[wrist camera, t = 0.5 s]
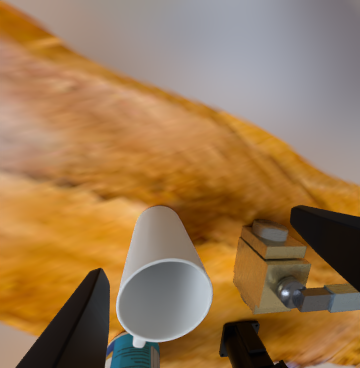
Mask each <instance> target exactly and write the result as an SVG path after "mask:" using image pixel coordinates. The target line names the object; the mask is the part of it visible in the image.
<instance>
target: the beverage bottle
mask: <svg viewBox="0 0 360 368" xmlns="http://www.w3.org/2000/svg"><path fill="white" fill-rule="evenodd" d="M159 357H160V352H159V344H158V342H148V341H146V343H145V345H144V346H143V347H142V348H136V347H134V346H133V336H132V335H131V334H130V333H128V332H127V331H126V332H123V333H121V334H120V335H118V336H116V337H115V338H114V339H113V340H112V341H111V342H110V344H109V345H108V347H107V354H106V363H105V368H160V359H159Z"/></svg>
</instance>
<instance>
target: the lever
mask: <svg viewBox="0 0 360 368" xmlns="http://www.w3.org/2000/svg"><path fill="white" fill-rule="evenodd" d="M275 294H276V296H277V298H278V299H279V300H280V301H281V302H282V303H283V304H284V306H285V307H287V308H290V309H293V308H297V309H298V310H299V311H300V312H309V311H319V310H328V311H329V312H330V313H332V312H343V311H353V310H360V293H359V292H358V291H357V290H356V289H355V288H354V287H353V286H352V285H351V284H335V285H324V287H322V288H306V287H305V286H304V285H303V284H302V283H300V282H299V281H298V280H297V279H296V278H294V277H286V278H284V279H282V280H281V281H280V282H279V283H278V284H277V286H276V289H275Z"/></svg>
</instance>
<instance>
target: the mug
mask: <svg viewBox="0 0 360 368" xmlns="http://www.w3.org/2000/svg"><path fill="white" fill-rule="evenodd" d="M212 298H213V289H212V284H211V281H210V279H209V277H208V275H207V273H206V271H205V268H204V266H203V264H202V262H201V260H200V258H199V256H198V254H197V252H196V250H195V248H194V246H193V244H192V242H191V240H190V238H189V236H188V234H187V232H186V230H185V228H184V225H183V224H182V222H181V220H180V218H179V216H178V215H177V213H176V212H175V211H173V210H172V209H170V208H168V207H165V206H154V207H151V208H148V209H146V210H145V211H144V212H143V213H142V214H141V215H140V216H139V217H138V219H137V222H136V225H135V228H134V232H133V236H132V240H131V244H130V248H129V252H128V255H127V259H126V263H125V267H124V271H123V275H122V279H121V284H120V289H119V293H118V297H117V302H116V311H117V316H118V319H119V321H120V323H121V325H122V326H123V328H124V329H125V330H126V331H127V332H128V333H130V334H131V335H132V336H133V346H134V347H136V348H142V347H143V346H144V345H145V343H146V341H148V342H164V341H169V340H173V339H176V338H179V337H181V336H183V335H185V334H187V333H189V332H190V331H192V330H193V329H194V328H195V327H197V326H198V325H199V324H200V323H201V321H202V320H203V319H204V318H205V316H206V315H207V313H208V311H209V309H210V306H211V303H212Z"/></svg>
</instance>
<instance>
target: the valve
mask: <svg viewBox="0 0 360 368" xmlns="http://www.w3.org/2000/svg"><path fill="white" fill-rule="evenodd" d="M288 231H289V230H288V228H286V227H285V226H283V225H281V224H279V223H276V222H273V221H269V220H263V219H257V220H254V222H253V227H248V226H243V227H242V233H241V237H239V243H238V249H237V255H236V261H235V267H234V279H233V283H234V284H235V286H236V287H237V289H238V290H239V292H240V294H241V298H242V300H243V301H244V302H245V303H246V304H247V305H248V306H249V308H250V310H251V311H252V313H253V314H262V313H273V312H284V311H291V309H290V308H287V307H285V306H284V304H283V303H282V302H281V301H280V300H279V299H278V298H277V296H276V294H275V289H276V286H277V284H278V283H279V282H280V281H281V280H282V279H284V278H286V277H294V278H296V279H297V280H298V281H299V282H300V283H302V284H303V285H304V286H306V282H307V279H308V275H309V271H310V267H311V263H309V262H308V261H307V260H305V259H304V255H305V251H306V247H307V246H305V245H304V244H302V243H300V242H299V241H297V240H295V239H294V238H292V237H291V236H289V235H288Z"/></svg>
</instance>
